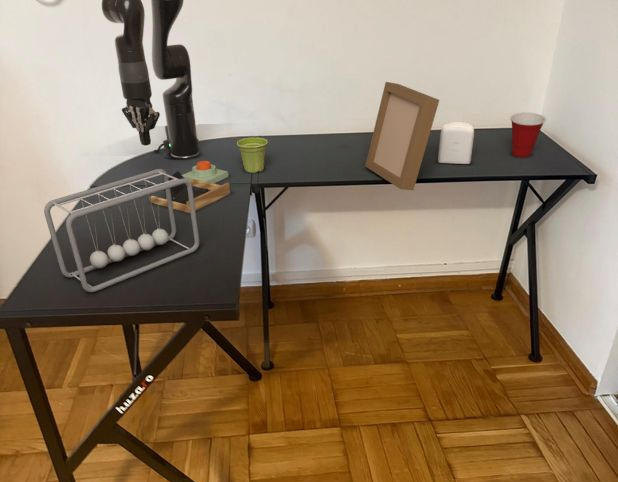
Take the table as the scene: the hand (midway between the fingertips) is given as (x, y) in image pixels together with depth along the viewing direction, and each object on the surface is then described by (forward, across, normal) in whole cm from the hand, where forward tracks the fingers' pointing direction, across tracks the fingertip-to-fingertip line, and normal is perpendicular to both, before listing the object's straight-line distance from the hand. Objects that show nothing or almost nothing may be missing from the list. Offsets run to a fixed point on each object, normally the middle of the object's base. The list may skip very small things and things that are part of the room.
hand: (146, 144), depth 169 cm
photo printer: (+13, -66, -66) cm, 95 cm away
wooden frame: (+13, -15, 0) cm, 19 cm away
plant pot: (+13, -16, -28) cm, 35 cm away
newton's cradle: (+13, -32, +37) cm, 51 cm away
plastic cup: (+13, -82, -85) cm, 119 cm away
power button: (+10, -8, -14) cm, 19 cm away
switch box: (+13, -8, -14) cm, 20 cm away
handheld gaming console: (+13, -14, 0) cm, 19 cm away
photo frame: (+13, -59, -46) cm, 76 cm away
